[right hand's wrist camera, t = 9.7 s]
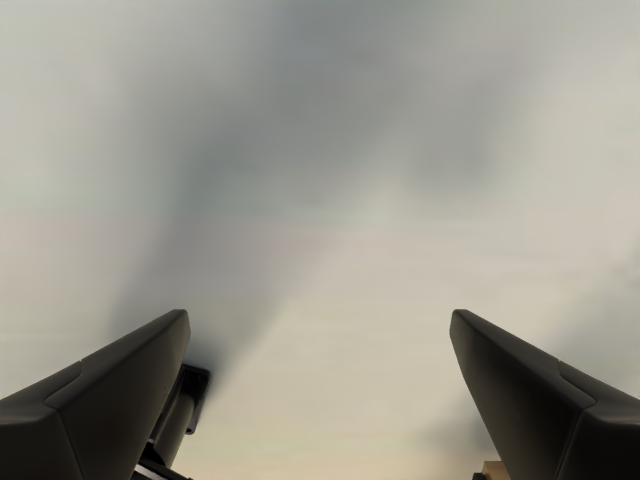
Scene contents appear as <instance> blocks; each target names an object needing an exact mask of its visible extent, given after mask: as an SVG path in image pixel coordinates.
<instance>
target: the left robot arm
mask: <svg viewBox="0 0 640 480" xmlns="http://www.w3.org/2000/svg"><path fill="white" fill-rule="evenodd" d="M472 480H487V479H486V477H485V475H483V474H482V473H474V475H473V479H472Z"/></svg>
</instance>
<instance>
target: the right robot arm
mask: <svg viewBox="0 0 640 480" xmlns="http://www.w3.org/2000/svg"><path fill="white" fill-rule="evenodd" d="M189 338H190V324H189V318H188V313H187V311H186V310H184V309H175V310H172V311H170V312H168V313H166V314H164V315H163V316H161V317H159V318H157V319H155V320H153V321H151V322H150V323H148V324H146V325H144V326H142V327H140V328H139V329H137V330H135V331H133V332H131V333H129V334H127V335H126V336H124V337H122V338H120V339H118V340H116V341H115V342H113V343H111V344H109V345H107V346H105V347H104V348H102V349H100V350H98V351H96V352H94V353H92V354H91V355H89V356H87V357H85V358H83V359H82V360H81V361H78V362H76V363H74V364H72V365H70V366H68V367H66V368H65V369H63V370H61V371H59V372H57V373H55V374H53V375H51V376H49V377H47V378H45V379H43V380H41V381H39V382H37V383H35V384H33V385H31V386H29V387H27V388H25V389H22V390H20V391H18V392H16V393H14V394H12V395H10V396H8V397H6V398H4V399H1V400H0V480H193V479H191V478H186V477H184V476H182V475H180V474H178V473H177V472H175V471H173V470H171V469H170V468H171V466H172V464H173V461H174V459H175V456H176V454H177V451H178V449H179V447H180V444H181V442H182V439H183V437H184V434H188V435H190V434H193V433H194V432H195V429H196V426H197V423H198V419H199V415H200V412H201V408H202V405H203V401H204V398H205V394H206V391H207V387H208V383H209V380H210V372H208V371H207V370H204V369H200V368H196V367H193V366H189V365H185V364H181V363H182V360H183V357H184V354H185V350H186V347H187V344H188V341H189ZM450 338H451V341H452V344H453V347H454V350H455V354H456V357H457V360H458V363H459V366H460V369H461V372H462V375H463V377H464V380H465V382H466V384H467V386H468V388H469V391H470V393H471V395H472V397H473V399H474V402H475V404H476V406H477V408H478V410H479V412H480V415H481V417H482V419H483V421H484V423H485V425H486V428H487V430H488V432H489V434H490V436H491V439H492V441H493V443H494V445H495V447H496V449H497V452H498V454H499V456H500V458H501V460H502V462H503V465H504V467H505V469H506V471H507V473H508V476H509V478H510V480H640V400H639V399H636V398H634V397H632V396H630V395H628V394H626V393H624V392H622V391H620V390H618V389H615V388H613V387H611V386H609V385H607V384H605V383H603V382H601V381H599V380H597V379H595V378H593V377H591V376H589V375H587V374H585V373H583V372H581V371H579V370H577V369H575V368H574V367H572V366H570V365H568V364H566V363H564V362H562V361H559V360H558V359H557V358H555V357H553V356H551V355H549V354H548V353H546V352H544V351H542V350H540V349H538V348H537V347H535V346H533V345H531V344H529V343H527V342H525V341H524V340H522V339H520V338H518V337H516V336H514V335H512V334H511V333H509V332H507V331H505V330H503V329H501V328H500V327H498V326H496V325H494V324H492V323H490V322H489V321H487V320H485V319H483V318H481V317H479V316H477V315H476V314H474V313H472V312H470V311H468V310H465V309H456V310H454V311H453V313H452V318H451V324H450ZM202 376H204V377H202Z"/></svg>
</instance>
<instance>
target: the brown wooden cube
mask: <svg viewBox="0 0 640 480" xmlns="http://www.w3.org/2000/svg"><path fill="white" fill-rule="evenodd" d="M482 474H483V475H485V477H486V479H487V480H510V478H509V476H508V473H507V471H506V469H505V467H504V465H503V462H502V461H485V462H484V465H483V469H482Z"/></svg>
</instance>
